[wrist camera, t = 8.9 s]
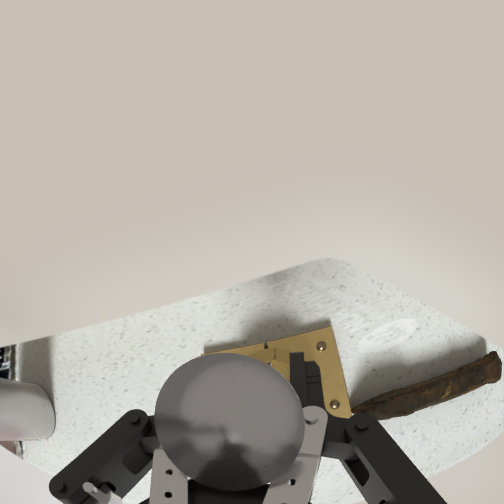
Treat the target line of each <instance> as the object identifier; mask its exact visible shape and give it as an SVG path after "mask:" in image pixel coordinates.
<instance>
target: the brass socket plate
mask: <svg viewBox="0 0 504 504" xmlns="http://www.w3.org/2000/svg"><path fill="white" fill-rule="evenodd" d="M267 344H268V349H265V345H264V343H260V344H255V345H250V346H245V347H240V348H235V349H229V350H224V351H218V352H212V353H206V354H213V353H236V354H241V355H246V356H249V357H252V358H255V359H258V360H260V361H262V362H264V363H266V364H268V363H272V367H273V368H274V369H276V370H277V371H278V372H279V373H281V374H282V375H283V376H284V377H285V378H286V379H287V380H288V381H289V383H290V356H289V353H291V352H304V361H315V362H316V363H317V365H318V366H319V367H320V373H321V380H322V388H323V396H324V404H325V408H326V410H327V411H328V412H329V413H330V414H331V415H333V416H336V417H341V418H348V417H351V416H352V413H351V408H350V404H349V399H348V394H347V390H346V385H345V381H344V377H343V372H342V368H341V364H340V360H339V356H338V351H337V347H336V343H335V340H334V336H333V332H332V328H331V326H330V327H326V328H323V329H319V330H315V331H311V332H307V333H303V334H299V335H295V336H291V337H287V338H283V339H278V340H274V341H269V342H267ZM204 355H205V354H201V356H204ZM268 365H269V364H268Z"/></svg>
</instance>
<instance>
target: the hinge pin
mask: <svg viewBox="0 0 504 504" xmlns="http://www.w3.org/2000/svg"><path fill="white" fill-rule="evenodd" d="M155 427H156V433H157V436H158V439H159V442H160V444H161V446H162V448H163V450H164V452H165V453H166V455H167V457H168V458H169V459H170V460H171V462H172V463H173V464H174V465H175V466H176V467H177V468H178V469H179V470H180V471H181V472H183V473H184V474H185V475H186V476H188V477H190V478H191V479H193V480H195V481H196V482H199V483H201V484H203V485H205V486H209V487H212V488H216V489H221V490H230V491H239V490H248V489H253V488H257V487H260V486H263V485H265V484H267V483H269V482H271V481H273V480H275V479H276V478H278V477H279V476H280V475H282V474H283V473H284V472H285V471H286V470H287V469H288V468H289V467H290V466H291V465H292V463H293V462H294V460H295V459H296V457H297V456H298V454H299V451H300V449H301V447H302V443H303V439H304V433H305V419H304V413H303V408H302V405H301V402H300V399H299V397H298V395H297V393H296V391H295V390H294V388H293V387H292V385H291V384H290V383H289V381H288V380H287V379H286V378H285V377H284V376H283V375H282V374H281V373H279V372H278V371H277V370H276V369H274V368H273V367H271V366H270V365H268V364H266V363H264V362H262V361H260V360H258V359H255V358H252V357H249V356H246V355H241V354H236V353H213V354H207V355H204V356H200V357H197V358H195V359H192V360H190V361H188V362H187V363H185V364H183V365H182V366H181V367H179V368H178V369H177V370H175V371H174V372H173V373H172V374H171V375H170V377H169V378H168V379H167V381H166V382H165V383H164V385H163V387H162V389H161V390H160V393H159V396H158V398H157V402H156V406H155Z"/></svg>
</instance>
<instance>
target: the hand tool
mask: <svg viewBox="0 0 504 504" xmlns="http://www.w3.org/2000/svg"><path fill="white" fill-rule="evenodd" d="M501 372H502V362H501V359H500V358H499V356H498V354H497V352H496V351H491V352H490V353H489V354H486V355H485V356H484V358H480V359H477V361H476V362H473V363H471V364H467V365H465V366H462V367H460V368H458V369H457V370H455V371H452V372H449V373H447V374H444V375H441V376H439V377H436V378H433V379H430V380H427V381H424V382H421V383H418V384H415V385H411V386H408V387H405V388H401V389H396V390H393V391H390V392H387V393H384V394H381V395H379V396H377V397H375V398H372V399H370V400H368V401H366V402H364V403H362V404H360V405H358V406H356V407H354V408H352V409H351V412H352V413H353V414H358V413H368V414H370V415H372V416H374V417H375V418H376V419H377V420H387V419H390V418H393V417H401V416H407V415H410V414H412V413H414V412H415V411H418V410H421V409H424V408H427V407H429V406H433V405H436V404H439V403H442V402H445V401H448V400H451V399H453V398H456V397H458V396H461V395H463V394H466V393H468V392H470V391H473V390H475V389H477V388H479V387H481V386H483V385H485V384H487V383H488V384H489V383H496V382H497V381H499V380H500V378H501Z"/></svg>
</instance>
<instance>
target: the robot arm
mask: <svg viewBox="0 0 504 504" xmlns="http://www.w3.org/2000/svg"><path fill="white" fill-rule="evenodd" d="M205 355H207V354H205ZM289 356H290V384H291V385H292V387H293V388H294V390H295V391H296V393H297V395H298V397H299V399H300V402H301V405H302V408H303V413H304V419H305V433H304V439H303V443H302V447H301V449H300V451H299V454H298V456H297V457H296V459H295V460H294V462H293V463H292V465H291V466H290V467H289V468H288V469H287V470H286V471H285V472H284V473H283V474H282V475H280V476H279V477H278V478H276V479H275V480H273V481H271V483H270V484H265V485H263V486H260V487H257V488H253V489H248V490H239V491H230V490H221V489H216V488H212V487H209V486H205V485H203V484H201V483H199V482H196V481H195V480H193V479H191V478H190V477H188V476H186V475H185V474H184V473H183V472H181V471H180V470H179V469H178V468H177V467H176V466H175V465H174V464H173V463H172V462H171V460H170V459H169V458H168V457H167V455H166V453H165V452H164V450H163V448H162V446H161V444H160V442H159V439H158V436H157V433H156V427H155V415H153V416H148V415H147V414H146V413H145V412H144V411H143V410H139V409H134V410H130V411H128V412H127V413H125V414H124V415H123V416H122V417H121V418H120V419H119V420H118V421H117V422H116V423H115V424H113V425H112V426H111V427H110V428H109V429H108V430H107V431H106V432H105V433H104V434H102V435H101V436H100V437H99V438H98V439H97V440H96V441H95V442H94V443H92V444H91V445H90V446H89V447H88V448H87V449H86V450H84V451H83V452H82V453H81V454H80V455H79V456H78V457H77V458H75V459H74V460H73V461H72V462H71V463H70V464H68V465H67V466H66V467H65V468H64V469H63V470H61V471H60V472H59V473H58V474H57V475H56V476H54V477H53V478H52V479H51V481H50V483H49V490H50V492H51V494H52V495H53V496H54V497H55V498H57V499H58V500H60V501H61V502H63V504H122V498H123V497H124V496H125V495H126V494H127V493H128V492H129V491H130V490H131V489H132V488H133V487H134V486H135V485H136V484H137V483H138V482H139V481H140V480H141V479H142V478H143V477H144V476H145V475H146V474H147V473H148V471H149V470H150V469H151V468H152V475H151V487H150V497H149V498H148V499H146V500H144V501H143V502H141V503H139V504H312V503H311V502H310V501H311V497H312V494H313V490H314V486H315V482H316V478H317V473H318V469H319V465H320V461H321V456H323V457H329V458H335V459H339V460H340V461H341V463H342V465H343V466H344V468H345V469H346V471H347V472H348V474H349V475H350V477H351V479H352V480H353V482H354V483H355V485H356V486H357V488H358V489H359V491H360V492H361V494H362V495H363V497H364V498H365V500H366V501H367V503H368V504H447V503H446V502H445V501H444V499H443V498H442V497H441V496H440V495H439V494H438V492H437V491H436V490H435V489H434V488H433V486H432V485H431V484H430V483H429V482H428V481H427V479H426V478H425V477H424V476H423V475H422V473H421V472H420V471H419V470H418V469H417V467H416V466H415V465H414V464H413V463H412V461H411V460H410V459H409V458H408V457H407V455H406V454H405V453H404V452H403V451H402V449H401V448H400V447H399V446H398V445H397V443H396V442H395V441H394V440H393V439H392V437H391V436H390V435H389V434H388V433H387V431H386V430H385V429H384V428H383V427H382V425H381V424H380V423H379V422H378V421H377V419H376V418H375V417H374V416H372V415H370V414H368V413H358V414H355V415H353V416H351V417H350V418H349V419H348V418H341V417H336V416H333V415H331V414H330V413H329V412H328V411H327V410H326V408H325V404H324V396H323V388H322V380H321V373H320V367H319V366H318V365H317V363H316V362H315V361H304V352H291V353H289ZM54 427H55V416H54V411H53V406H52V404H51V401H50V399H49V397H48V395H47V393H46V392H45V391H44V389H43V388H42V387H40V386H39V385H36V384H32V383H25V382H19V381H14V380H9V379H4V378H0V441H31V440H39V439H46V438H49V437H50V436H51V435H52V434H53V431H54Z"/></svg>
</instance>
